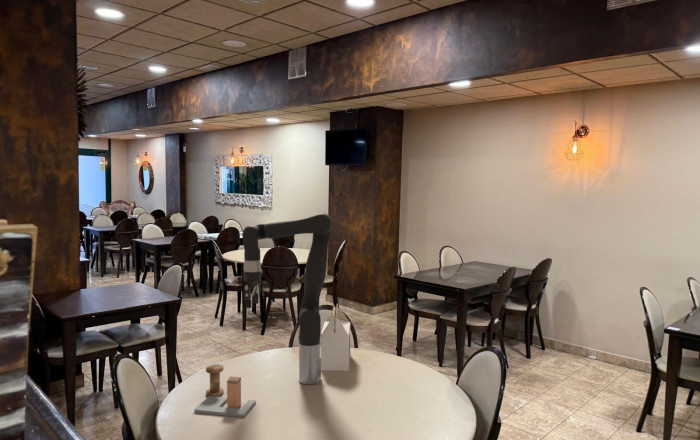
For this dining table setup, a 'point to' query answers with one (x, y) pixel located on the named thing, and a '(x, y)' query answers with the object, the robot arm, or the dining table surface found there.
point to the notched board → (215, 407)
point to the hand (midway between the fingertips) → (252, 305)
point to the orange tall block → (233, 392)
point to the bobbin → (214, 380)
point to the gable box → (335, 342)
